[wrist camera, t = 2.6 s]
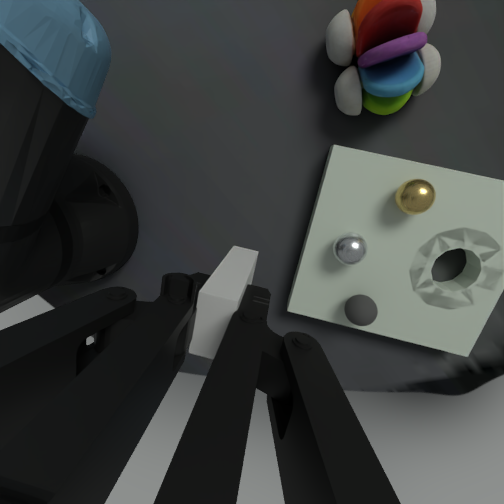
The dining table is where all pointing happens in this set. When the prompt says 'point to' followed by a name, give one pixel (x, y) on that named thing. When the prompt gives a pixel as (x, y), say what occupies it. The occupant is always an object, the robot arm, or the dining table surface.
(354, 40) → the rainbow disc rolling toy
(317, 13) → the dining table surface
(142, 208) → the dining table surface
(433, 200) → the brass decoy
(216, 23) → the dining table surface
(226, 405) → the robot arm
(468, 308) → the pale green flat slab
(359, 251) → the steel ball
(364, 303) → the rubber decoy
